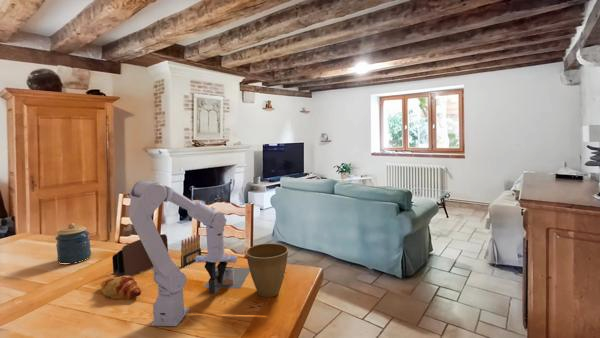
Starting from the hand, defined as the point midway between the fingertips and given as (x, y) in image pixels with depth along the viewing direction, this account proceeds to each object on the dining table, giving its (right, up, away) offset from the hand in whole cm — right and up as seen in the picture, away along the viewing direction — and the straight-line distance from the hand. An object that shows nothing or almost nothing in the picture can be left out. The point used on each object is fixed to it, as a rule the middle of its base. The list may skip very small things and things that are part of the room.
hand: (217, 281), depth 113 cm
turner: (0, -2, +1) cm, 2 cm away
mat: (+1, -3, +13) cm, 14 cm away
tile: (+1, -4, +8) cm, 9 cm away
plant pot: (+18, -5, +2) cm, 19 cm away
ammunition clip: (-20, -2, +30) cm, 36 cm away
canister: (-76, -3, +36) cm, 84 cm away
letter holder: (-40, -3, +26) cm, 48 cm away
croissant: (-36, -6, +3) cm, 37 cm away
